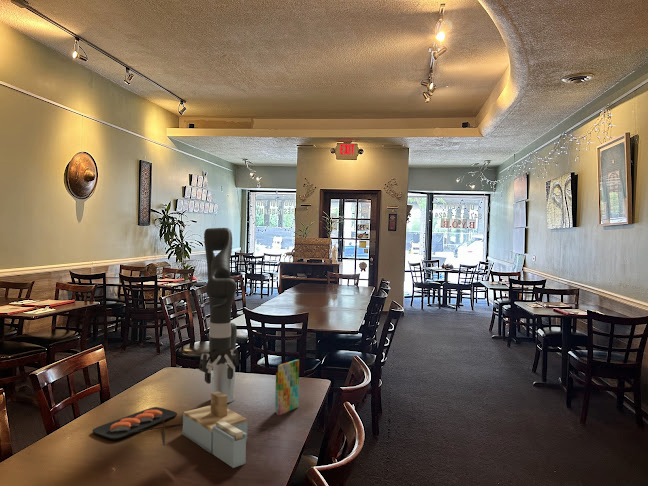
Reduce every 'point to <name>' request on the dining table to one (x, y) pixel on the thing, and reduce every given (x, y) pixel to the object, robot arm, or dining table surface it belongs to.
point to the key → (230, 429)
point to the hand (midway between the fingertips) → (219, 380)
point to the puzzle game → (287, 387)
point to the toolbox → (218, 441)
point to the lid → (215, 413)
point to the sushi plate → (136, 423)
